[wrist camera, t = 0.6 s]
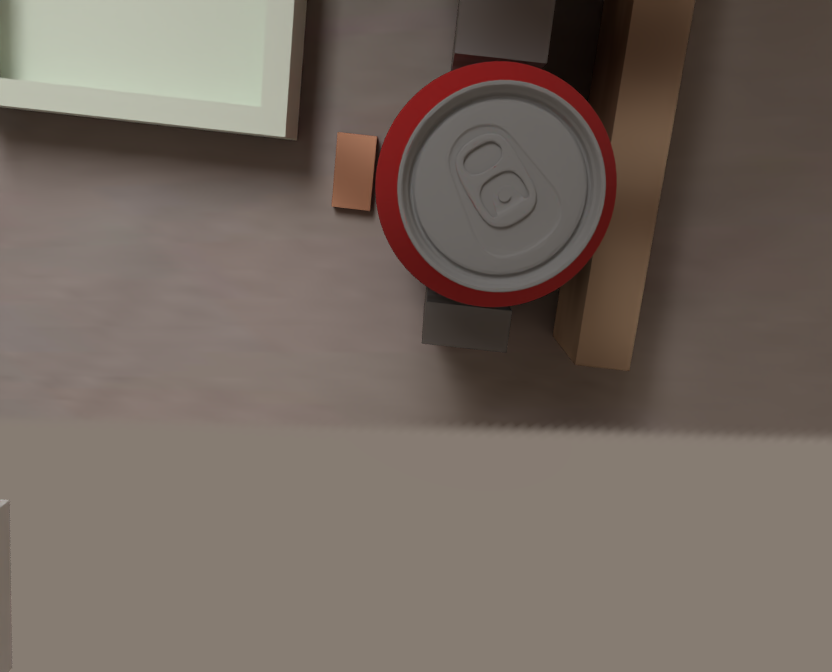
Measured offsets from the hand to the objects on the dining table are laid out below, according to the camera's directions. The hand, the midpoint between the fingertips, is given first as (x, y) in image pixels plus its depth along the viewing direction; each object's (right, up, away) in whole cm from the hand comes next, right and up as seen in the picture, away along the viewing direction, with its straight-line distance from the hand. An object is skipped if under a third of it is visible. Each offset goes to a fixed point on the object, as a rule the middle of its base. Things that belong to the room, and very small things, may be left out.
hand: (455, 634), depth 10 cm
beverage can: (+2, +11, +20) cm, 23 cm away
